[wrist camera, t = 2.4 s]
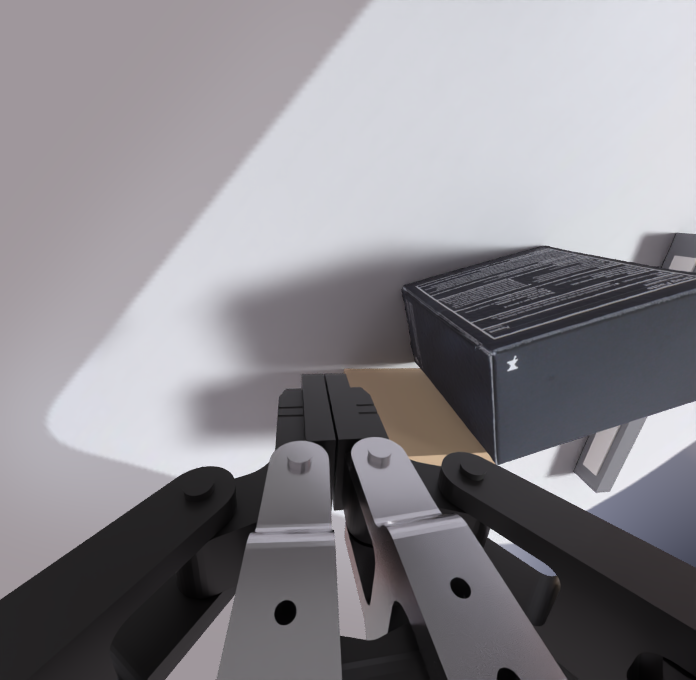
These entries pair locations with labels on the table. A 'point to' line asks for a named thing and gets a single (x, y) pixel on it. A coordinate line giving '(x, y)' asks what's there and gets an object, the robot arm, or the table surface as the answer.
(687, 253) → the rail
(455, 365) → the small box
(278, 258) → the table surface
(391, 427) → the kraft carton
